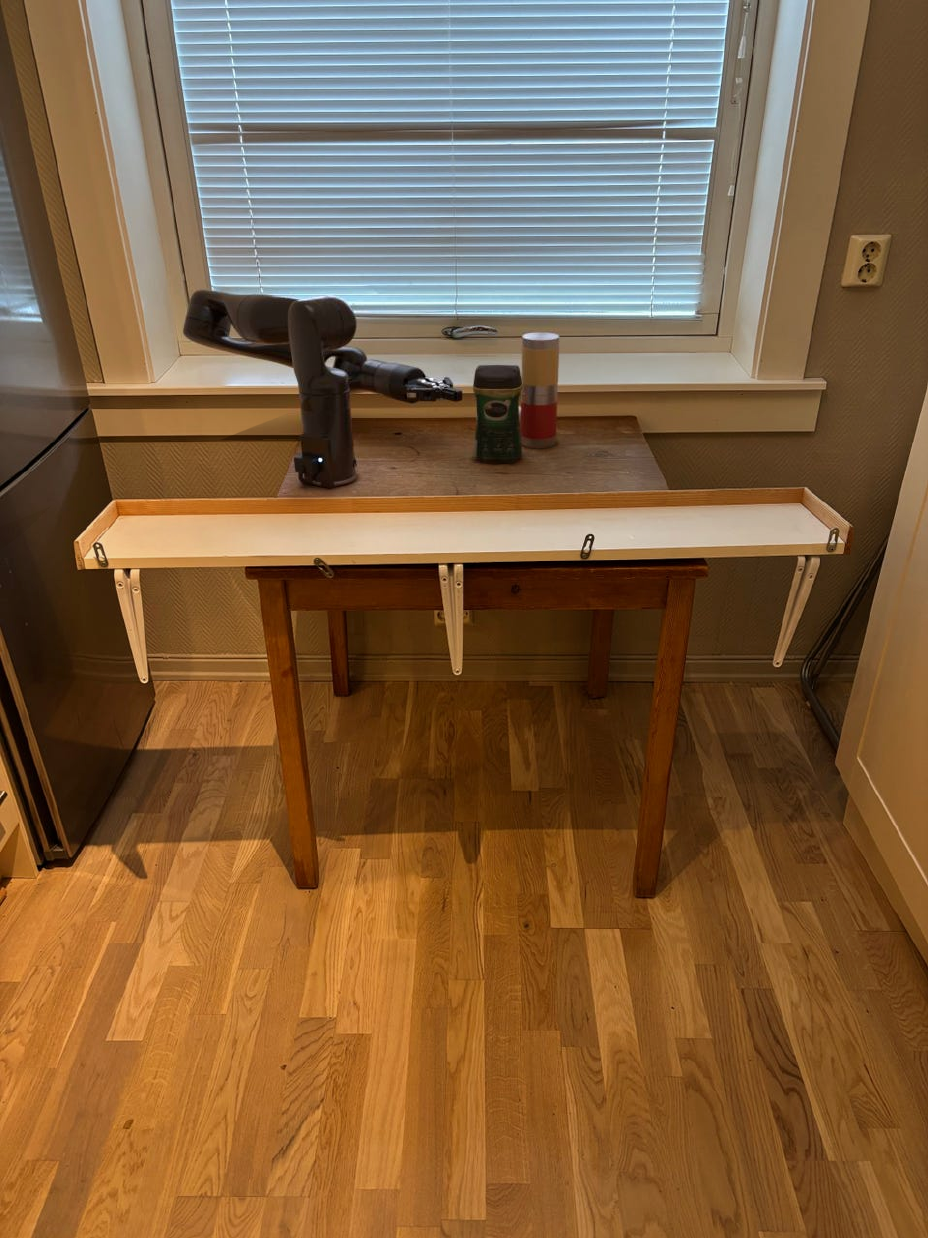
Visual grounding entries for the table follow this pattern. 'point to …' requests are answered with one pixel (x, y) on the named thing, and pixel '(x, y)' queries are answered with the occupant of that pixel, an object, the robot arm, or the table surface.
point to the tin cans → (539, 389)
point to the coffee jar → (497, 413)
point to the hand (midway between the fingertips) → (459, 396)
